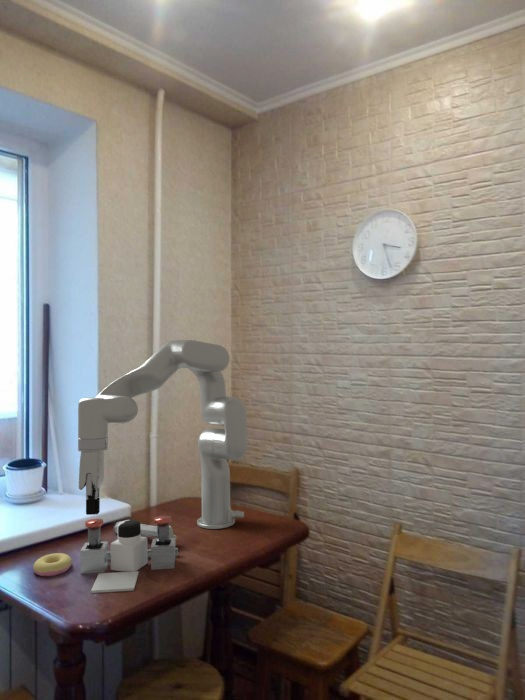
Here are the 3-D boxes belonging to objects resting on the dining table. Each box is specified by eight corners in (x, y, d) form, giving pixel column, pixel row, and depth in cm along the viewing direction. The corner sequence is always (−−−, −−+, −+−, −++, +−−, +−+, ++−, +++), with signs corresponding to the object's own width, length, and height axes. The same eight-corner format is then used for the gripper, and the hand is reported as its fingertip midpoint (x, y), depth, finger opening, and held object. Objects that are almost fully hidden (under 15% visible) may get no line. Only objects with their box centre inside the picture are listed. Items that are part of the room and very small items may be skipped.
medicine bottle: (148, 563, 145) (147, 519, 145) (133, 573, 139) (133, 527, 139) (125, 560, 148) (125, 516, 148) (110, 570, 141) (109, 524, 141)
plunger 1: (105, 548, 145) (104, 518, 145) (101, 554, 140) (101, 523, 140) (87, 548, 144) (87, 519, 144) (83, 555, 140) (83, 524, 140)
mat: (138, 573, 138) (138, 571, 138) (133, 590, 129) (133, 587, 129) (98, 575, 137) (98, 573, 137) (90, 593, 127) (90, 590, 127)
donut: (74, 571, 146) (40, 566, 146) (77, 553, 147) (43, 549, 147) (62, 580, 137) (25, 576, 136) (65, 561, 137) (29, 557, 137)
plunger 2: (172, 544, 147) (172, 515, 147) (171, 550, 142) (171, 520, 142) (155, 545, 146) (155, 516, 146) (153, 551, 142) (153, 521, 142)
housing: (177, 554, 151) (177, 533, 151) (176, 568, 142) (175, 545, 142) (86, 559, 148) (86, 538, 148) (78, 573, 139) (78, 550, 139)
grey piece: (124, 518, 173) (178, 521, 158) (126, 539, 172) (181, 544, 158) (110, 523, 169) (165, 526, 154) (112, 544, 168) (168, 549, 154)
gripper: (84, 440, 149) (84, 506, 149) (71, 449, 134) (71, 522, 134) (112, 439, 150) (112, 505, 150) (102, 448, 135) (102, 521, 135)
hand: (92, 513), depth 142 cm, fingers closed
